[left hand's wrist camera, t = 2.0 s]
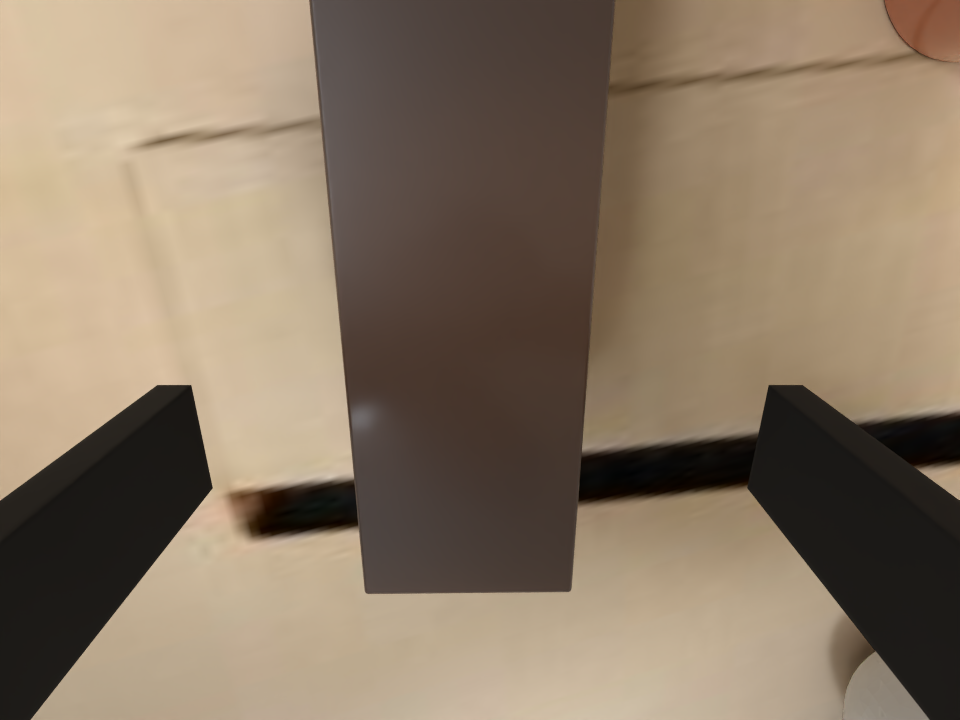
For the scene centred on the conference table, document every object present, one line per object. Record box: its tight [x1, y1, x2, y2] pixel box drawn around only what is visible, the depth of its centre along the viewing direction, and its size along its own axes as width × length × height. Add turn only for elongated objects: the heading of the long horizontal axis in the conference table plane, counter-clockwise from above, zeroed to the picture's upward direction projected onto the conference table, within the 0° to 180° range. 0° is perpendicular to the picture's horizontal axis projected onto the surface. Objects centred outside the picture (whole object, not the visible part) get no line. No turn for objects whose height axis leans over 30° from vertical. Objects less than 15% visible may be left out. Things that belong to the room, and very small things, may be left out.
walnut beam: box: [309, 0, 615, 594], centre depth 13 cm, size 26×5×9 cm, turn 0°
